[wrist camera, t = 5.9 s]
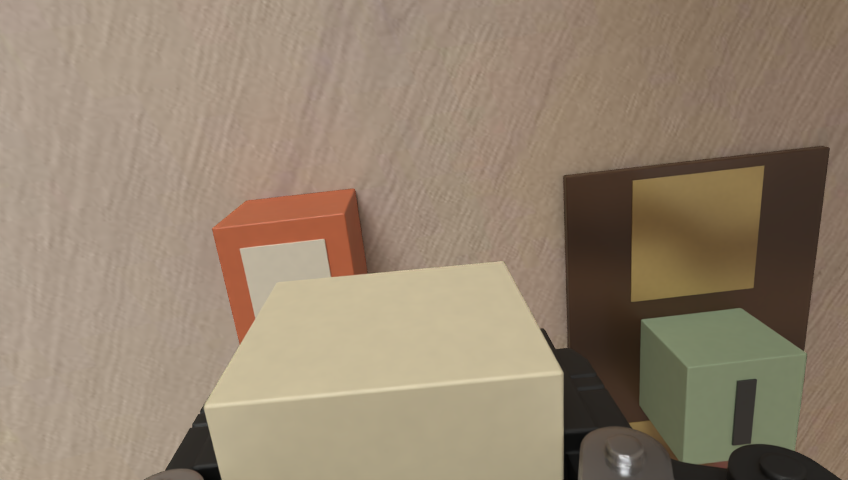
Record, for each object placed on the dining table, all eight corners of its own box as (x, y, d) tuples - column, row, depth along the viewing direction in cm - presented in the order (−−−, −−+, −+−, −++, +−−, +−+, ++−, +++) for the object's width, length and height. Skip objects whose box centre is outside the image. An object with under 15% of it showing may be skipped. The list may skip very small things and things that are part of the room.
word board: (562, 175, 24) (566, 177, 24) (822, 145, 24) (831, 147, 24) (572, 519, 30) (575, 526, 30) (779, 494, 30) (786, 502, 30)
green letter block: (640, 319, 26) (688, 368, 22) (741, 307, 26) (809, 354, 22) (638, 405, 27) (683, 468, 23) (733, 394, 27) (796, 455, 23)
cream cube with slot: (276, 281, 11) (198, 410, 7) (504, 260, 12) (567, 375, 7) (310, 468, 13) (264, 670, 9) (511, 449, 13) (567, 639, 9)
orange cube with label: (245, 200, 24) (209, 228, 19) (355, 188, 24) (344, 213, 20) (266, 301, 25) (239, 348, 21) (370, 289, 25) (363, 334, 21)
